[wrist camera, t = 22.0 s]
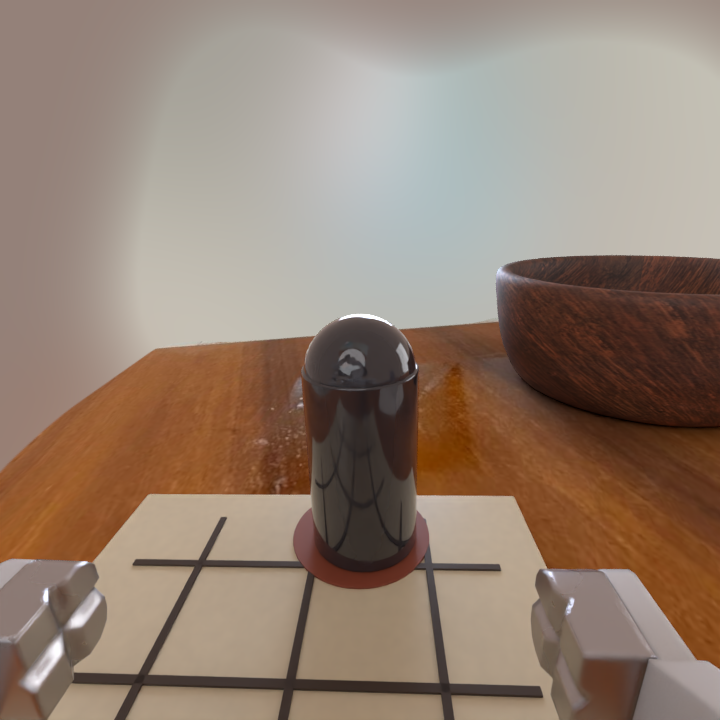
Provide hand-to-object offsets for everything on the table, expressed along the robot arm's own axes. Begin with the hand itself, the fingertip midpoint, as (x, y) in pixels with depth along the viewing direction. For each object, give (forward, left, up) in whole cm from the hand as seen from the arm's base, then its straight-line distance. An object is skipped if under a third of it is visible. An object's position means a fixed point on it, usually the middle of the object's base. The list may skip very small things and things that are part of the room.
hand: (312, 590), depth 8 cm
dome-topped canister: (0, +10, -8) cm, 13 cm away
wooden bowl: (+24, +33, -9) cm, 42 cm away
